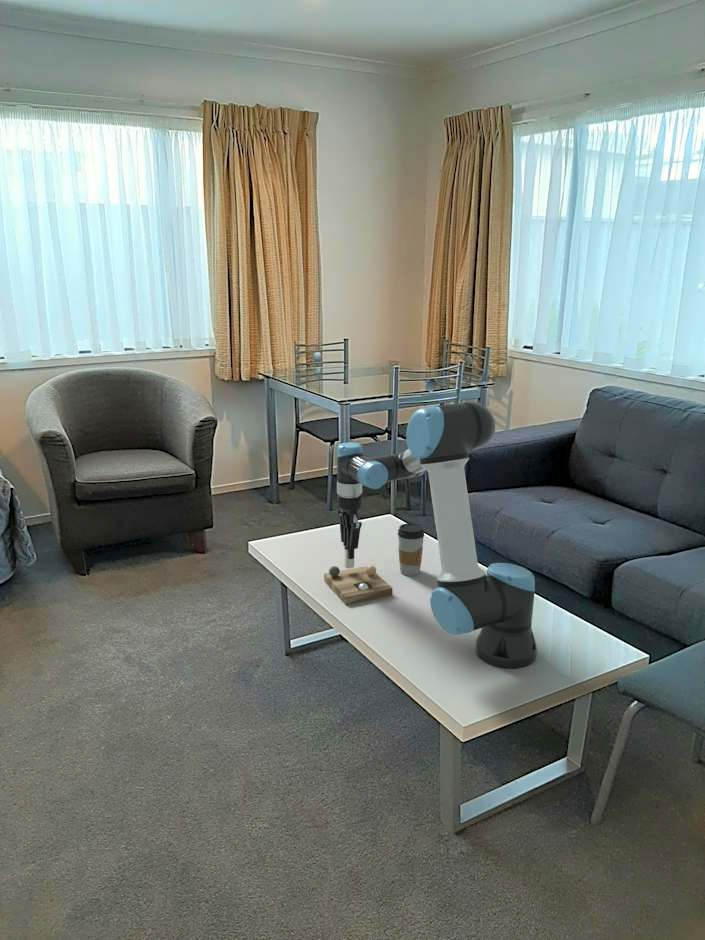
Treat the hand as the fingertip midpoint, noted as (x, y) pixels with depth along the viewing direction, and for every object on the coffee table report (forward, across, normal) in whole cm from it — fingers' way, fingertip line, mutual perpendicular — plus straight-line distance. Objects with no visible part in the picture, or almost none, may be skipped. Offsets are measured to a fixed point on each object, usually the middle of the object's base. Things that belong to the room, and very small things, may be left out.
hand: (349, 566), depth 229 cm
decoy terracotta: (0, -4, -5) cm, 7 cm away
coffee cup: (+5, -2, -20) cm, 21 cm away
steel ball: (+3, -11, 0) cm, 11 cm away
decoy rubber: (0, -1, +5) cm, 5 cm away
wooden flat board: (+4, -6, 0) cm, 8 cm away
